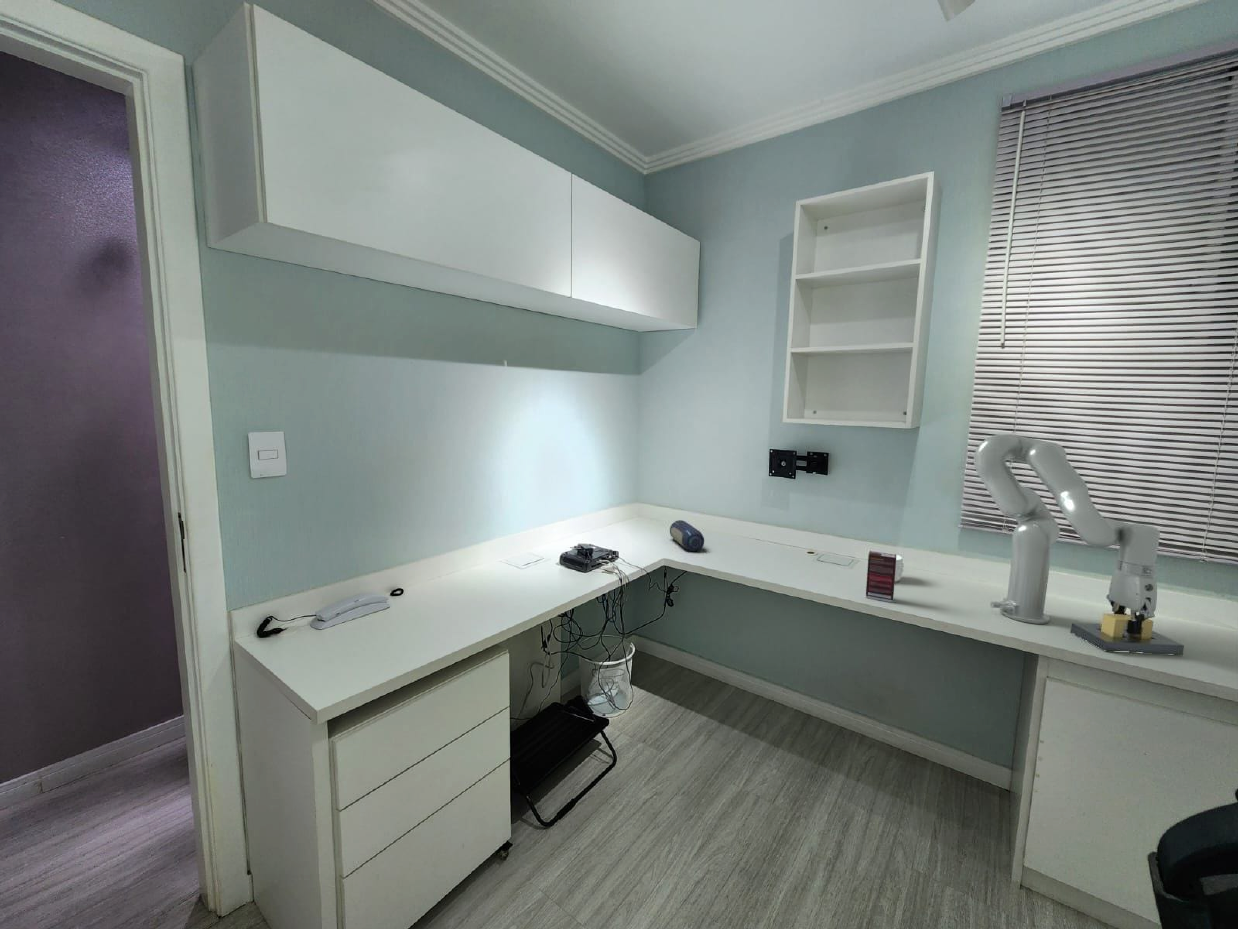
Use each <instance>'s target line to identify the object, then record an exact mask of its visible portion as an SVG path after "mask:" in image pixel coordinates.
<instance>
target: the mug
mask: <svg viewBox="0 0 1238 929" xmlns="http://www.w3.org/2000/svg"><path fill="white" fill-rule="evenodd" d="M888 553H889V554H892V553H890V552H888ZM904 567H905V564H904V563H903V557H902V556H900V555H898V554H896V569H895V583H896V582H899V581H900V580H901V579H902V575H903V572H904Z"/></svg>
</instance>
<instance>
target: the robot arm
mask: <svg viewBox="0 0 1238 929" xmlns="http://www.w3.org/2000/svg"><path fill="white" fill-rule="evenodd" d="M1009 460H1010V461H1014V462H1018V463H1023V464H1027V465H1028V466H1029V467H1030V468H1031V470H1032V471H1033V473H1035V475H1036V476H1037V477H1038V479H1039V480H1040V481H1041V482H1042V483H1043V485H1044V486H1045V488H1047V490H1048V491H1049V493H1050V494H1051V496H1052V497H1053V498H1054V500H1055V503H1056V504H1057V506H1058V507H1059V509H1060V511H1061V513H1062V514H1063V516H1064V518H1065V519H1066V521H1067V522H1068V524H1069V525H1070V526H1071V527H1072V529H1073V530H1074V531H1075V533H1076V534H1077V535H1078V537H1079V538H1080V539H1081V540H1082V541H1083V542H1084V543H1086V545H1089V547H1093V548H1097V549H1106V548H1109V547H1111V546H1113V545H1119V548H1118V555H1117V562H1116V567H1115V568H1114V571H1113V574H1112V577H1111V580H1110V584H1109V589H1108V594H1107V595H1105V596H1106V599H1107V600H1108V602H1109V604H1110V606H1111V611H1112V612H1113V614H1123V615H1128V613H1126V611H1127V608H1128V609H1129V610H1130V615H1131V620H1128V627H1127V633H1128V634H1140V633H1141V627H1142V622H1144V621H1145V620H1146V619H1153V618H1155V617H1156V615H1155V612H1156V609H1157V603H1158V602H1157V600H1158V584H1157V578H1156V577H1155V574H1156V570H1155V569H1156V563H1157V556H1158V551H1159V544H1160V539H1161V538H1160V536H1161V531H1160V530H1159V529H1158V528H1157V527H1154V526H1152V525H1147V524H1141V523H1128V522H1124V521H1120V520H1115V519H1112V518H1108V517H1103V516H1102V514H1101V513H1100V511H1099V510H1098V509H1097V508H1096V506H1095V505H1094V504H1095V503H1093V501H1092V499H1091V497H1090V492H1089V489H1088V485H1087V483H1086V481H1085V480H1084V479H1083V478H1082V477H1081V475H1080V474H1079V473H1078V472H1077V470H1076V469H1075V468H1074V466H1072V465H1071V463H1070V461H1069V460H1067V451H1066V449H1065V448H1064V447H1063V446H1062V445H1060V444H1058V443H1056V442H1053V441H1047V440H1040V439H1036V438H1030V437H1026V436H1021V435H1016V434H1009V433H1007V434H995V435H991V436H989V437H987V438H985V439H984V440H983V441H982V442H981V443H980V444H979V445H978V446H977V448H976V450H975V452H974V455H973V464H974V465H973V466H974V468H975V471H976V473H977V475H978V476H979V478H980V479H981V482H982V483H983V484H984V486H985V488H986V490H987V492H988V493H989V495H990V496H991V498H992V500H993V502H994V503H995V504H996V506H997V508H998V510H999V511H1000V512H1001V514H1002V515H1004V516H1005V517H1008V518H1010V519H1015V521H1016V522H1017V523H1018V524H1017V525H1016V527H1015V528H1014V529H1013V532H1012V537H1011V538H1012V539H1011V545H1012V546H1011V547H1012V548H1011V559H1010V569H1009V570H1010V572H1009V579H1008V588H1007V595H1006V596H1007V597H1006V598H1003V600H1001V601H990V605H989V606H990V608H992V609H993V608H994V609H995V608H997V609H999V612H1000V614H1002V616H1006V617H1008V618H1009V619H1013V620H1015V621H1019V622H1023V623H1028V624H1034V625H1045V624H1048V623H1050V617H1049V616H1048V615H1047V614H1046V613H1044V612H1045V606H1046V597H1047V589H1048V583H1049V575H1050V574H1049V573H1050V566H1051V550H1052V549H1051V547H1052V544H1054V543H1056V542H1057V541H1058V539H1059V538H1060V535H1061V530H1060V526H1059V524H1058V522H1057V521H1056V519H1055V517H1054V516H1053V515H1052V513H1051V511H1050V510H1049V508H1048V507H1047V505H1046V504H1045V503H1044V501H1043V499H1042V498H1041V497H1040V495H1039V494H1038V493H1037V492H1036V491H1034V489H1031V488H1030V487H1026V486H1022V485H1021V484H1020V482H1019V481H1018V479H1017V477H1016V476H1015V474H1014V473H1013V471H1012V470H1011V469H1010V468H1009V466H1008V464H1007V463H1006V461H1009ZM1137 613H1138V614H1137Z"/></svg>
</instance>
